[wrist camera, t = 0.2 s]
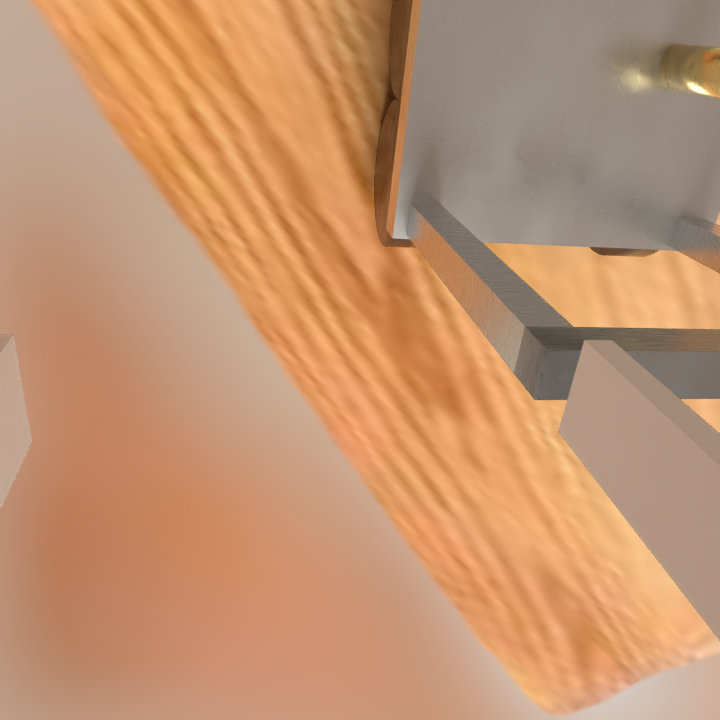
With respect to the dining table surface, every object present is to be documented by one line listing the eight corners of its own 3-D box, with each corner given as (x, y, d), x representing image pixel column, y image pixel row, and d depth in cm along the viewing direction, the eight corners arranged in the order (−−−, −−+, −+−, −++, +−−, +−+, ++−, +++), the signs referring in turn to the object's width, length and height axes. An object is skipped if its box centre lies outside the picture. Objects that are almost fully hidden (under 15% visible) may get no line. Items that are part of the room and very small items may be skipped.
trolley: (385, -70, 34) (661, -229, 12) (682, -29, 38) (1323, -93, 15) (357, 223, 42) (497, 462, 19) (608, 235, 45) (972, 449, 23)
